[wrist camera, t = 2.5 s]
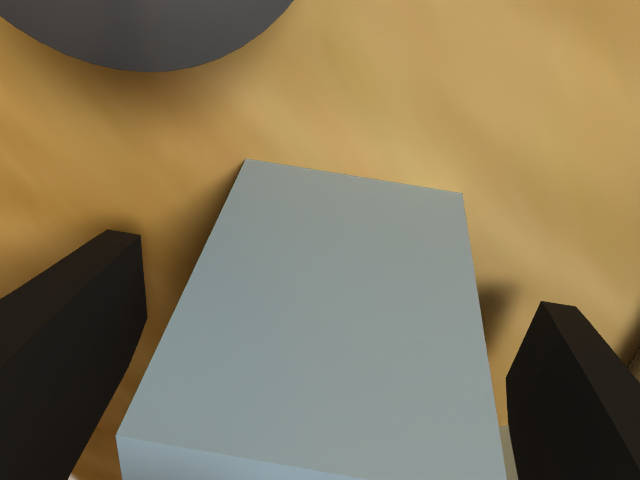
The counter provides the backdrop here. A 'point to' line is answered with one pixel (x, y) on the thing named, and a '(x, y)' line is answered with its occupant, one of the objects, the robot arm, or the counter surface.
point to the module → (322, 342)
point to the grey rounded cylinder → (143, 29)
